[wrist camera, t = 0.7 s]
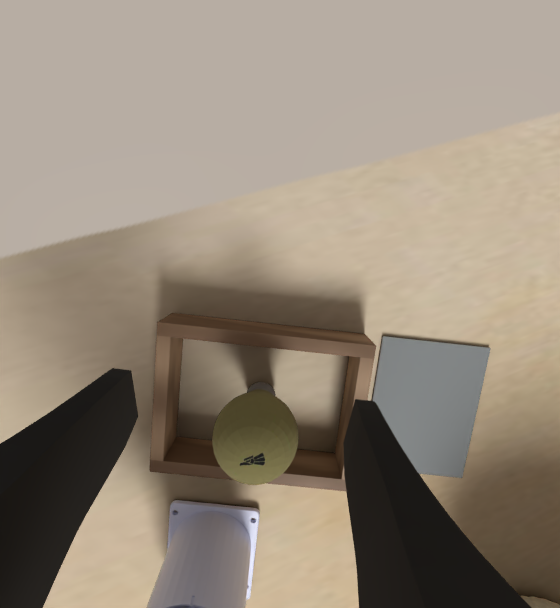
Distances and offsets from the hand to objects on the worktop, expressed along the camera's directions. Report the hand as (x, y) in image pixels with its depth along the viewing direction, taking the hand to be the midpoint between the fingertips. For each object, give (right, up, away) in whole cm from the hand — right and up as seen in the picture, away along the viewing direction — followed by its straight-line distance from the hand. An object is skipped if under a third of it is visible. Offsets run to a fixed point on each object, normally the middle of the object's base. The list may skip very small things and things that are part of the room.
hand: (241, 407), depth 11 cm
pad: (+14, -6, +19) cm, 24 cm away
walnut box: (0, -4, +19) cm, 19 cm away
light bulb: (0, -4, +19) cm, 19 cm away
